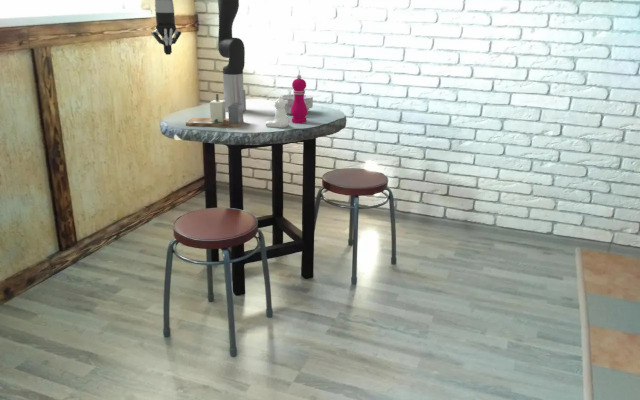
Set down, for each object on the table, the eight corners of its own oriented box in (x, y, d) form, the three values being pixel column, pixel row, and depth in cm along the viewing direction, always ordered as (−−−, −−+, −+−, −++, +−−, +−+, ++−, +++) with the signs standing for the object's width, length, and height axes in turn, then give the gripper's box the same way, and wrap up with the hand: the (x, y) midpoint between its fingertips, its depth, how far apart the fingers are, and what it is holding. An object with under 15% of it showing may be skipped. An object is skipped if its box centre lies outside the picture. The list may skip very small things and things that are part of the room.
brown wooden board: (185, 125, 224) (185, 122, 224) (193, 120, 235) (193, 117, 234) (238, 127, 223) (238, 123, 223) (243, 121, 233) (243, 118, 233)
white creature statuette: (282, 123, 232) (282, 95, 228) (295, 126, 226) (295, 97, 222) (264, 126, 226) (264, 97, 222) (277, 130, 220) (277, 100, 216)
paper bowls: (308, 109, 263) (308, 92, 260) (315, 115, 249) (316, 98, 246) (277, 110, 259) (277, 93, 256) (283, 116, 245) (283, 99, 243)
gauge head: (209, 122, 223) (207, 96, 219) (214, 118, 231) (212, 92, 227) (221, 123, 223) (219, 96, 219) (225, 119, 231) (224, 93, 227)
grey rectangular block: (228, 123, 223) (228, 106, 221) (234, 118, 233) (233, 102, 230) (238, 124, 223) (237, 107, 221) (243, 119, 233) (242, 102, 230)
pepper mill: (289, 123, 232) (289, 75, 225) (292, 119, 239) (292, 73, 232) (306, 123, 231) (306, 76, 224) (308, 120, 238) (309, 74, 231)
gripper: (153, 11, 219) (156, 55, 225) (183, 11, 227) (186, 54, 233) (145, 11, 224) (149, 54, 230) (175, 11, 232) (178, 53, 238)
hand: (168, 54), depth 231 cm, fingers closed
